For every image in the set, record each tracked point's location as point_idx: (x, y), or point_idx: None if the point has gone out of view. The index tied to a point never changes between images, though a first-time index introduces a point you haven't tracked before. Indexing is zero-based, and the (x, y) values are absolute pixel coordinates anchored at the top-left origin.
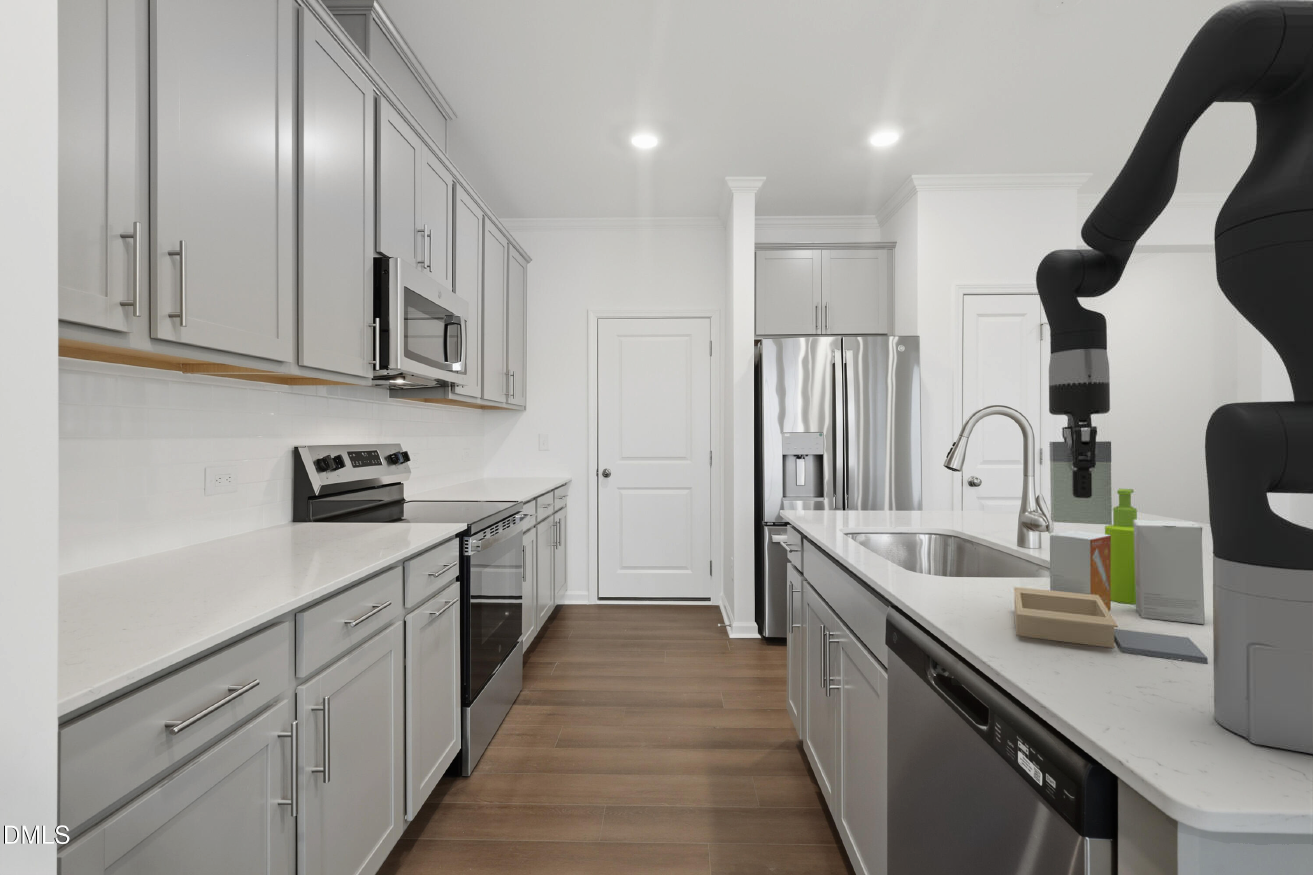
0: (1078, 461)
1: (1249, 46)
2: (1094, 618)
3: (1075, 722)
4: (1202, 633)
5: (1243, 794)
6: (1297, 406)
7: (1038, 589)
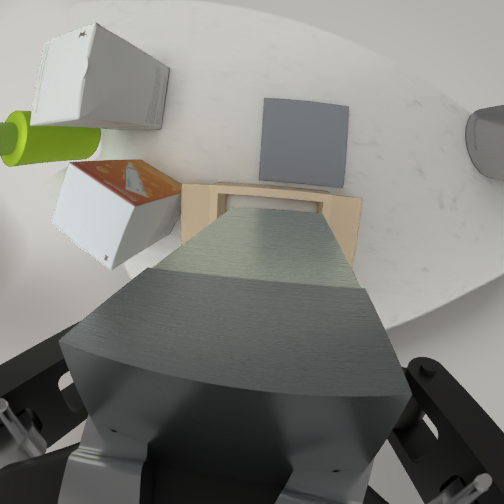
0: (423, 421)
1: None
2: (336, 219)
3: (500, 273)
4: (209, 75)
5: None
6: None
7: None
